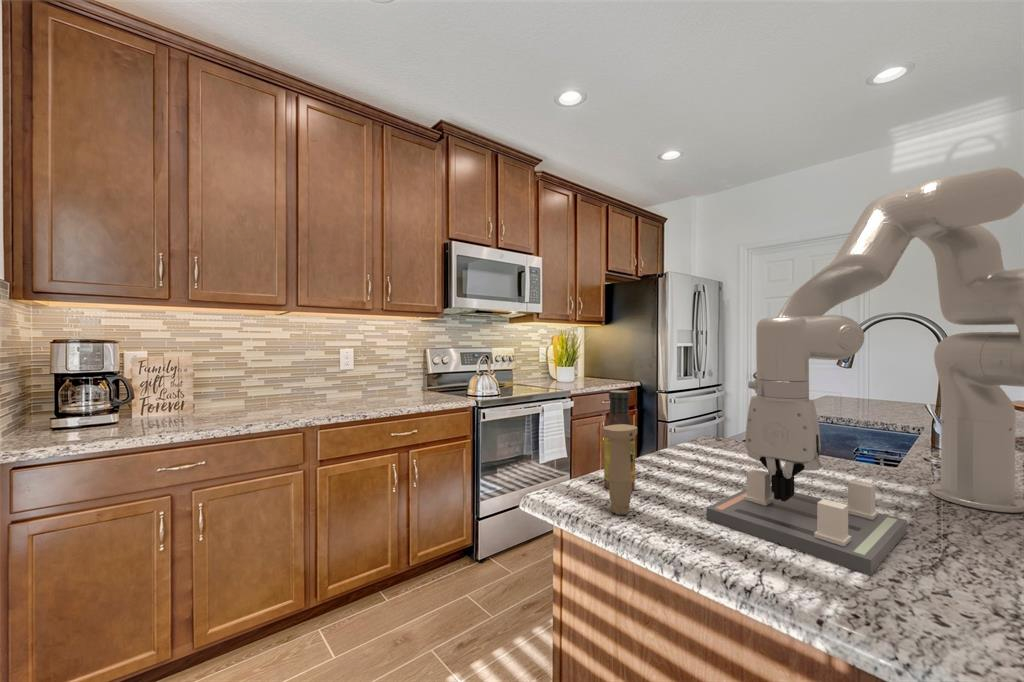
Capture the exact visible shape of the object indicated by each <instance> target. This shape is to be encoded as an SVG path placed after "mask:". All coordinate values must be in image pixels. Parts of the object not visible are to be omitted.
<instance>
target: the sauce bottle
mask: <svg viewBox="0 0 1024 682" xmlns="http://www.w3.org/2000/svg"><path fill="white" fill-rule="evenodd" d="M608 398H609V414H608V416H607V417H606V419H605V422H604V426H603V427H605V426H609V425H617V424H626V425H632V426H634V424H633V423H634V422H633V421H632V418H631V415H630V409H629V399H630V392H629V391H628V390H619V389H618V390H609V391H608ZM610 449H611V442H610V439H608V438H607V437H605V436H604V435H603V471H604V472H603V473H604V474H603V478H604V486H605V487H606V488H607V489H608V490H609V467H610ZM630 461H631V477H632V487H631V488H632V490H631V491H633V490H634V489H635V485H636V482H635V481H636V436H635V437H634V438H632V439H631V440H630Z"/></svg>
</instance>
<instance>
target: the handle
mask: <svg viewBox="0 0 1024 682" xmlns="http://www.w3.org/2000/svg"><path fill="white" fill-rule="evenodd" d="M604 426H605V425H604ZM604 426H603V427H602V435H603V437H604V436H605V437H607V438H608V439H610V442H611V449H610V467H609V489H608V491H609V492H608V493H609V502H610V503H611V504H610V510H611V513H613V514H616V515H618V516H620V515H621V516H622V515H625V516H626V515H629V511H630V505H631V499H632V491H633V490H632V488H631V487H632V477H631V461H630V440H631V439H632V438H634V437H635V438H636V436H637V435H638V427H637V426H636V425H633V426H632V425H626V424H617V425H609V426H605V427H604Z"/></svg>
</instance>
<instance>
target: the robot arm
mask: <svg viewBox="0 0 1024 682" xmlns="http://www.w3.org/2000/svg"><path fill="white" fill-rule="evenodd" d="M1023 205H1024V177H1023V176H1022V175H1021V174H1020V173H1019V172H1018V171H1016V170H1014V169H1012V168H1008V167H991V168H988V169H982V170H977V171H972V172H968V173H961V174H958V175H957V174H956V175H950V176H946V177H941V178H937V179H932V180H929V181H926V182H921V183H918V184H915V185H913V186H909V187H906V188H902V189H899V190H896V191H893V192H889V193H887V194H884V195H881V196H879V197H877V198H876V199H874V200H872V201H871V202H870V203H869V204H868V205H867V206H866V207H865V208H864V210H863V211H862V213H861V214H860V216H859V218H858V219H857V221H856V223H855V224H854V226H853V228H852V229H851V231H850V233H849V235H848V236H847V238H846V240H844V243H843V245H842V246H841V247H840V249H839V251H838V253H837V254H836V256H835V258H834V259H833V260H832V261H831V262H830V263H829V264H828V265H827V266H824V267H823V268H822V269H821V270H819V271H817V273H816V274H814V275H813V276H812V277H811V278H810V279H808V280H807V281H806V282H804V284H802V285H800V287H799V288H798V289H796V290H795V291H794V292H793V293H792V294H791V295H790V296H789V298H788V299H787V300H786V302H785V303H784V305H783V306H782V308H781V309H780V311H779V313H778V315H777V316H773V317H771V316H770V317H765V318H762V319H759V321H758V322H757V323H756V332H755V333H756V336H755V338H756V340H755V342H756V343H755V347H756V350H755V351H756V355H755V357H756V358H755V359H756V360H755V361H756V378H755V380H753V381H751V380H749V381H748V385H747V386H748V388H749V389H750V390H751V389H752V390H754V391H755V394H756V395H752V396H751V397H750V401H749V404H748V405H749V406H748V411H747V419H746V428H745V450H747V457H749V458H751V459H753V460H755V461H757V462H760V463H761V464H762V465H763V466H764V468H766V470H767V472H768V473H769V474H771V490H772V492H774V499H776V500H779V499H780V500H781V501H784V502H785V501H787V500H788V499H790V498H791V497H792V496H793V495H794V492H795V476H796V475H798V474H800V473H801V472H803V471H805V472H807V471H810V472H811V471H813V472H814V471H819V470H820V469H821V468H822V464H821V461H820V455H821V434H820V425H819V419H818V418H819V417H818V413H817V409H816V405H815V400H813V399H810V360H811V359H812V360H824V361H839V360H846V359H847V358H850V357H852V356H854V355H855V354H857V353H858V352H859V351H860V350H861V349H862V347H863V345H864V341H865V333H864V330H863V328H862V326H861V325H860V324H859V323H858V322H857V321H856V320H854V319H852V318H850V317H847V316H843V315H839V314H838V315H837V314H828V315H827V314H826V313H828V312H829V311H830V310H831V309H833V308H834V307H836V306H838V305H840V304H842V303H844V302H846V301H849V300H850V299H853V298H855V297H858V296H860V295H863V294H865V293H867V292H870V291H872V290H874V289H875V288H877V287H879V286H881V285H883V284H884V283H886V282H887V281H888V280H889V278H890V277H891V276H892V273H893V272H894V270H895V269H896V267H897V265H898V263H899V261H900V259H901V258H902V256H903V254H904V253H905V251H906V250H907V248H908V246H910V244H911V241H912V240H913V239H915V238H918V239H919V240H920V241H921V242H923V243H924V244H925V245H926V246H927V247H928V249H929V250H930V252H931V254H932V255H933V259H934V261H935V269H936V277H937V278H936V279H937V280H936V281H937V288H938V299H939V306H940V311H941V313H942V316H943V318H944V319H945V320H946V321H947V322H949V323H951V324H954V325H959V326H996V325H997V326H1000V325H1001V326H1002V325H1003V326H1004V325H1005V326H1006V325H1007V326H1008V325H1011V326H1013V325H1016V329H1017V330H1018V331H1015V332H1014V331H1013V332H1012V331H1010V332H1009V331H1005V332H1004V331H973V332H962V333H961V332H960V333H956V334H951V335H949V336H947V337H945V338H943V339H941V340H940V342H938V344H937V345H936V346H935V349H934V352H933V353H934V354H933V355H934V356H933V360H934V364H935V369H936V373H937V376H938V380H939V388H940V405H941V407H940V409H941V411H940V412H941V416H940V417H941V419H940V422H941V423H940V425H941V426H940V433H941V434H940V440H941V441H940V482H938V483H932V484H931V485H929V492H930V494H932V496H935V497H937V498H938V499H941V500H944V501H947V502H949V503H952V504H956V505H960V506H964V507H968V508H973V509H977V510H978V509H979V510H983V511H991V512H999V513H1011V514H1012V513H1013V514H1014V513H1024V499H1023V498H1020V497H1018V496H1016V418H1017V417H1016V408H1015V406H1014V404H1013V402H1012V400H1011V398H1010V397H1009V396H1008V394H1007V393H1006V391H1004V390H1003V388H1002V387H1001V386H1007V387H1020V388H1024V268H1016V269H1010V270H1008V269H1007V270H1006V269H1005V266H1004V262H1003V255H1002V249H1001V248H1002V247H1001V244H1000V242H999V240H998V239H997V238H996V236H995V235H994V233H992V232H991V231H990V230H989V229H987V228H986V227H984V226H982V224H987V223H991V222H995V221H1000V220H1001V221H1002V220H1004V219H1007V218H1009V217H1011V216H1012V215H1014V214H1016V212H1018V211H1019V210H1020V209H1021V208H1022V206H1023ZM825 314H826V315H825ZM781 461H784V468H783V466H782V462H781Z"/></svg>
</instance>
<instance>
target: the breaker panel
mask: <svg viewBox="0 0 1024 682" xmlns="http://www.w3.org/2000/svg"><path fill="white" fill-rule="evenodd" d="M745 495H747V488H744V489H743V490H741V491H738V492H736V493H734V494H732V495H730V496H728V497H726V498H724V499H722V500H720V501H717V502H715V503H713V504H711V505H709V506H708V507H706V510H705V511H706V521H710V522H713V523H715V522H716V523H715V524H718V523H719V525H721V524H722V526H725V527H727V528H730V529H733V530H737V531H739V532H742V533H745V534H748V535H751V536H754V537H757V538H760V539H763V540H765V539H766V540H765V541H768V540H770V541H769V542H771V541H773V542H772V543H774V542H776V543H775V544H777V543H779V544H778V545H780V544H781V545H780V546H783V545H784V546H783V547H785V548H788V547H789V549H791V548H792V550H794V549H796V550H795V551H797V550H799V551H798V552H800V551H803V552H806V553H808V554H807V555H809V554H811V555H810V556H812V555H813V556H812V557H815V556H816V557H815V558H818V557H819V558H818V559H821V560H824V561H827V562H829V561H830V563H833V564H835V565H838V564H839V566H841V565H842V567H845V568H847V567H848V568H847V569H851V570H853V571H857V572H858V573H862V574H864V573H865V575H867V574H868V576H870V575H871V574H872V573H873V572H876V570H877V569H878V568H879V567H878V565H879V564H880V563H881V562H882V561H883V562H884V560H885V559H886V558H887V557H888V556H887V555H889V554H890V553H891V552H892V551H893V550H894V548H895V547H896V546H897V545H898V544H899V542H900V541H901V540H902V539H903V537H904V536H905V535H906V534H905V533H906V532H908V531H907V529H908V528H907V525H908V523H907V519H904V518H901V517H897V516H892V515H890V514H889V515H888V514H885V513H880V512H878V516H877V517H876V518H874V519H873V520H871V519H867V518H863V517H859V516H856V515H852V514H848V535H849V536H851V541H850V542H849V543H848V544H847V545H846V546H845V547H844V546H841V545H838V544H834V543H831V542H828V541H825V540H822V539H818V538H815V537H814V533H815V532H816V531H817V503H818V502H819V501H821V500H822V499H823V498H820V497H816V496H812V495H808V494H805V493H801V492H800V493H799V492H797V491H794V495H793V496H792V497H791V498H790V499H788V500H787V501H785V502H784V501H781V500H780V499H779V500H776V499H774V492H772V490H771V498H773V502H772V503H770V504H768V505H766V506H765V505H761V504H758V503H754V502H751V501H747V500H744V496H745ZM901 538H902V539H901ZM900 539H901V540H900ZM899 540H900V541H899ZM898 541H899V542H898ZM897 543H898V544H897ZM896 544H897V545H896ZM895 545H896V546H895ZM894 546H895V547H894ZM893 547H894V548H893ZM892 549H893V550H892ZM891 550H892V551H891ZM890 551H891V552H890ZM803 552H802V553H803ZM889 552H890V553H889ZM806 553H805V554H806ZM888 553H889V554H888ZM886 556H887V557H886ZM885 557H886V558H885ZM884 558H885V559H884ZM883 559H884V560H883ZM883 562H882V563H883ZM882 563H881V564H882ZM881 564H880V565H881ZM880 565H879V566H880ZM877 567H878V568H877ZM876 568H877V569H876ZM873 574H874V573H873ZM873 574H872V575H873ZM872 575H871V576H872Z"/></svg>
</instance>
